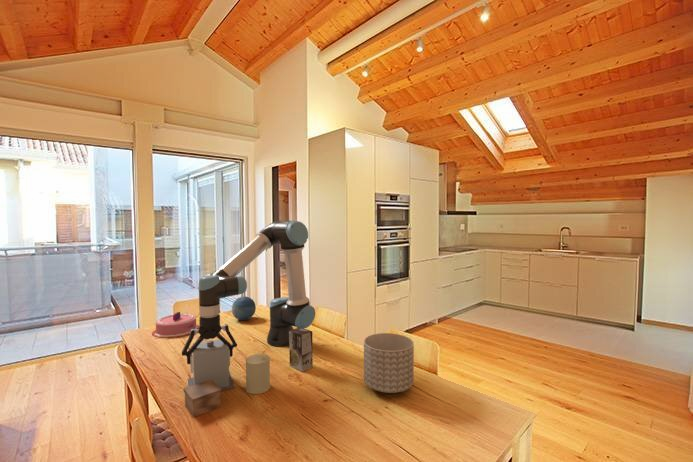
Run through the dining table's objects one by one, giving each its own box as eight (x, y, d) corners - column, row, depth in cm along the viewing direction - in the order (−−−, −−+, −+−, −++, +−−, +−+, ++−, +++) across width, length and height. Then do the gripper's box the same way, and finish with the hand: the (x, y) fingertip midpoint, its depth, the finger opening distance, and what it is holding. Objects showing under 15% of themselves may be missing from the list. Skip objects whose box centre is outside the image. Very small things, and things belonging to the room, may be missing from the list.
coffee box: (313, 367, 146) (313, 331, 146) (301, 372, 142) (301, 334, 141) (300, 361, 153) (299, 326, 152) (288, 365, 148) (288, 330, 147)
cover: (225, 373, 140) (224, 334, 140) (229, 386, 129) (228, 344, 129) (193, 379, 135) (192, 339, 134) (194, 393, 124) (194, 350, 123)
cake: (187, 338, 182) (187, 319, 182) (142, 338, 182) (141, 319, 182) (206, 324, 207) (206, 307, 207) (166, 324, 207) (166, 307, 207)
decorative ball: (227, 322, 209) (226, 299, 209) (238, 315, 224) (238, 293, 224) (249, 323, 207) (249, 300, 206) (259, 316, 222) (259, 294, 221)
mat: (229, 371, 143) (229, 370, 143) (234, 387, 129) (234, 387, 129) (187, 379, 136) (187, 378, 136) (189, 398, 121) (189, 397, 121)
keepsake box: (211, 395, 123) (211, 379, 123) (221, 406, 116) (221, 389, 115) (183, 405, 116) (183, 388, 116) (192, 417, 109) (192, 399, 109)
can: (263, 395, 123) (263, 363, 123) (241, 392, 125) (240, 361, 125) (274, 383, 132) (273, 353, 132) (252, 381, 134) (252, 351, 134)
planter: (381, 406, 116) (381, 355, 115) (355, 382, 133) (355, 337, 132) (423, 393, 125) (424, 345, 124) (394, 372, 142) (394, 330, 141)
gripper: (240, 308, 140) (241, 358, 141) (174, 316, 129) (175, 370, 129) (244, 313, 133) (244, 365, 134) (174, 322, 122) (175, 379, 123)
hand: (210, 368), depth 132 cm, fingers open, 13 cm apart
